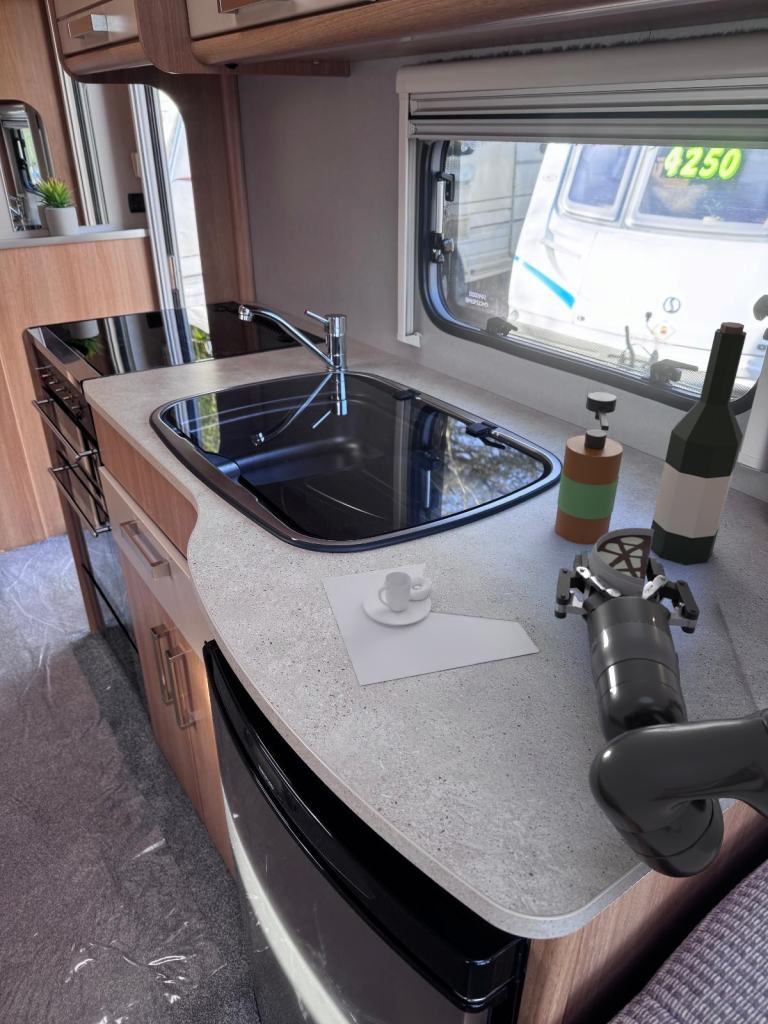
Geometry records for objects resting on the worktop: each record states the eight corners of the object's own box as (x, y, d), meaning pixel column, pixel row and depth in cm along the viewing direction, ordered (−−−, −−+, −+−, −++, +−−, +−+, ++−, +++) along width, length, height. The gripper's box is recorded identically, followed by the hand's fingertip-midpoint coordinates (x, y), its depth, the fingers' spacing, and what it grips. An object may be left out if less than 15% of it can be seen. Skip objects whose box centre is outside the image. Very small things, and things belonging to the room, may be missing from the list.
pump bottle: (606, 521, 103) (623, 424, 96) (610, 547, 97) (629, 446, 90) (553, 516, 104) (566, 420, 97) (554, 542, 98) (568, 441, 91)
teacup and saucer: (425, 582, 89) (426, 554, 87) (447, 620, 83) (448, 591, 81) (356, 593, 87) (355, 565, 85) (373, 633, 80) (373, 603, 78)
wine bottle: (705, 536, 100) (761, 317, 85) (719, 569, 92) (782, 336, 78) (643, 530, 101) (687, 314, 87) (651, 562, 94) (701, 332, 79)
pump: (611, 414, 94) (615, 392, 93) (618, 442, 86) (622, 419, 84) (583, 412, 95) (586, 390, 93) (587, 440, 86) (591, 416, 85)
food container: (588, 590, 88) (598, 517, 84) (641, 600, 86) (654, 527, 82) (571, 649, 78) (581, 570, 74) (630, 662, 76) (644, 583, 72)
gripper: (548, 677, 70) (547, 581, 84) (705, 698, 67) (677, 596, 81) (557, 614, 66) (555, 525, 80) (724, 633, 64) (691, 538, 78)
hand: (616, 561), depth 81 cm, fingers closed on food container, 6 cm apart
